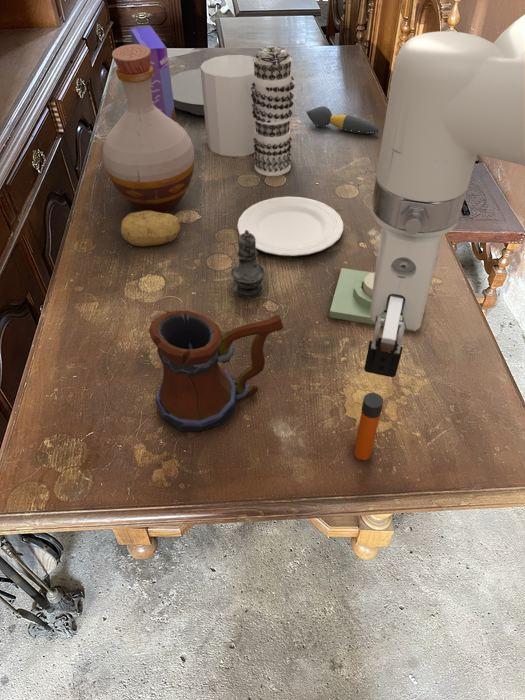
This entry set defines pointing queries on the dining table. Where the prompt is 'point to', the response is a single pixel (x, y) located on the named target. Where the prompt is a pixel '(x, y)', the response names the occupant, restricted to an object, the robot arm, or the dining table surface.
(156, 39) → the cereal box
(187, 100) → the flat disc
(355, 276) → the push button block
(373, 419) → the marker
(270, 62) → the decorative candle
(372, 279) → the circle pad
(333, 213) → the plate
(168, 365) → the mug
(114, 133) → the jug
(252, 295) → the chess piece
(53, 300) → the dining table surface
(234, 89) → the container
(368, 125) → the paintbrush
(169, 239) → the potato
